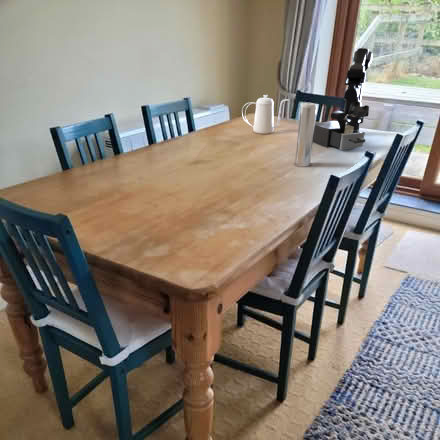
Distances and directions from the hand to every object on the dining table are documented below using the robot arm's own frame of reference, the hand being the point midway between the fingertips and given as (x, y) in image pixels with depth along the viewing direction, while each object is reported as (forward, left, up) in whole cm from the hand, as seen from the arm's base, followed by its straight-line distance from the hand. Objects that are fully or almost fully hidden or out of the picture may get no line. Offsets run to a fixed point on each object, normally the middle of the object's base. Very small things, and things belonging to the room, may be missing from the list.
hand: (347, 132), depth 218 cm
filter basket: (0, 0, -1) cm, 1 cm away
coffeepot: (-44, -18, -7) cm, 49 cm away
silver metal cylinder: (+13, -35, -7) cm, 38 cm away
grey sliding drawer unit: (-11, 0, -7) cm, 14 cm away
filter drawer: (+1, 0, -6) cm, 6 cm away
